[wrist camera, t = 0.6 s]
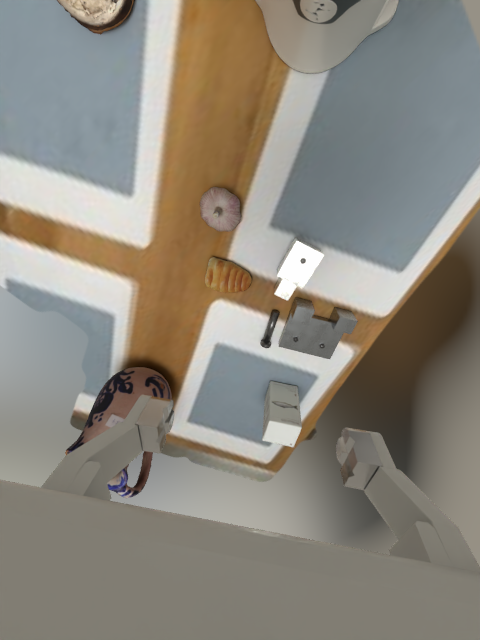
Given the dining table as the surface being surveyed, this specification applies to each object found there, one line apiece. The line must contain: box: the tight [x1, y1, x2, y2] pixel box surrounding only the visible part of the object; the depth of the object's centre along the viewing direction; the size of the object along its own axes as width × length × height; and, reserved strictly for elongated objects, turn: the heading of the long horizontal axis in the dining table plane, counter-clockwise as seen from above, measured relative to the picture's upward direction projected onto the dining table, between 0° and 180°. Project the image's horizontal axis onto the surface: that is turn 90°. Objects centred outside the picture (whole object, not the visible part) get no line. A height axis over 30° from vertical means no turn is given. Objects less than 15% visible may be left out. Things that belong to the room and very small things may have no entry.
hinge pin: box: [260, 310, 280, 348], centre depth 53 cm, size 9×2×2 cm, turn 168°
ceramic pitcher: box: [65, 367, 172, 498], centre depth 57 cm, size 18×21×25 cm
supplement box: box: [262, 381, 302, 447], centre depth 58 cm, size 7×7×13 cm
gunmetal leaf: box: [279, 297, 358, 359], centre depth 51 cm, size 12×12×4 cm
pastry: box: [205, 257, 252, 293], centre depth 48 cm, size 9×7×4 cm
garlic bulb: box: [200, 187, 241, 231], centre depth 41 cm, size 8×7×8 cm
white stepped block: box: [274, 238, 324, 301], centre depth 46 cm, size 10×6×4 cm, turn 156°
